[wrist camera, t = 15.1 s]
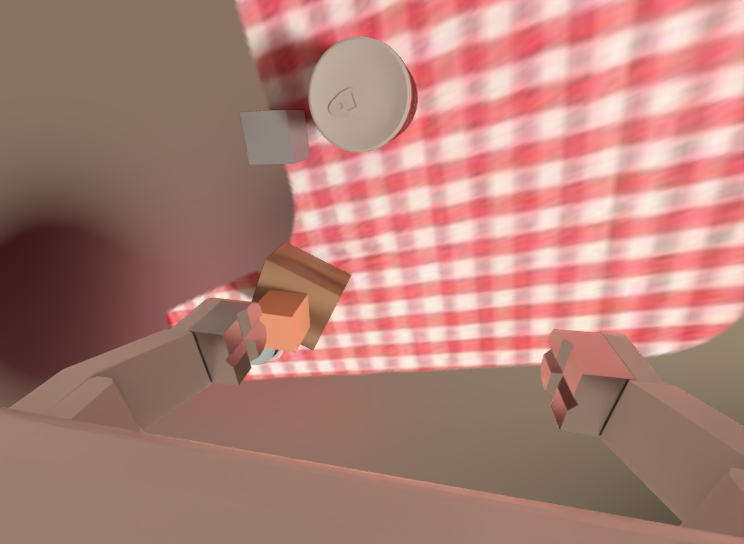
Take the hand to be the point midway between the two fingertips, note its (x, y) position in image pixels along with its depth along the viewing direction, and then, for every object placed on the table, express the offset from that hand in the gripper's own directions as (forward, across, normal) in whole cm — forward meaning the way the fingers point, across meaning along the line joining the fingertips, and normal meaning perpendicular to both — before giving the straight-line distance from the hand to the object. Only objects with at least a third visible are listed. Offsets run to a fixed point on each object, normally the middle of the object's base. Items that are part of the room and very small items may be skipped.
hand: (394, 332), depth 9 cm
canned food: (+30, +5, -6) cm, 31 cm away
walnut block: (+30, +16, +17) cm, 38 cm away
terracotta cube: (+24, +16, +17) cm, 33 cm away
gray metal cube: (+30, +16, -3) cm, 34 cm away
